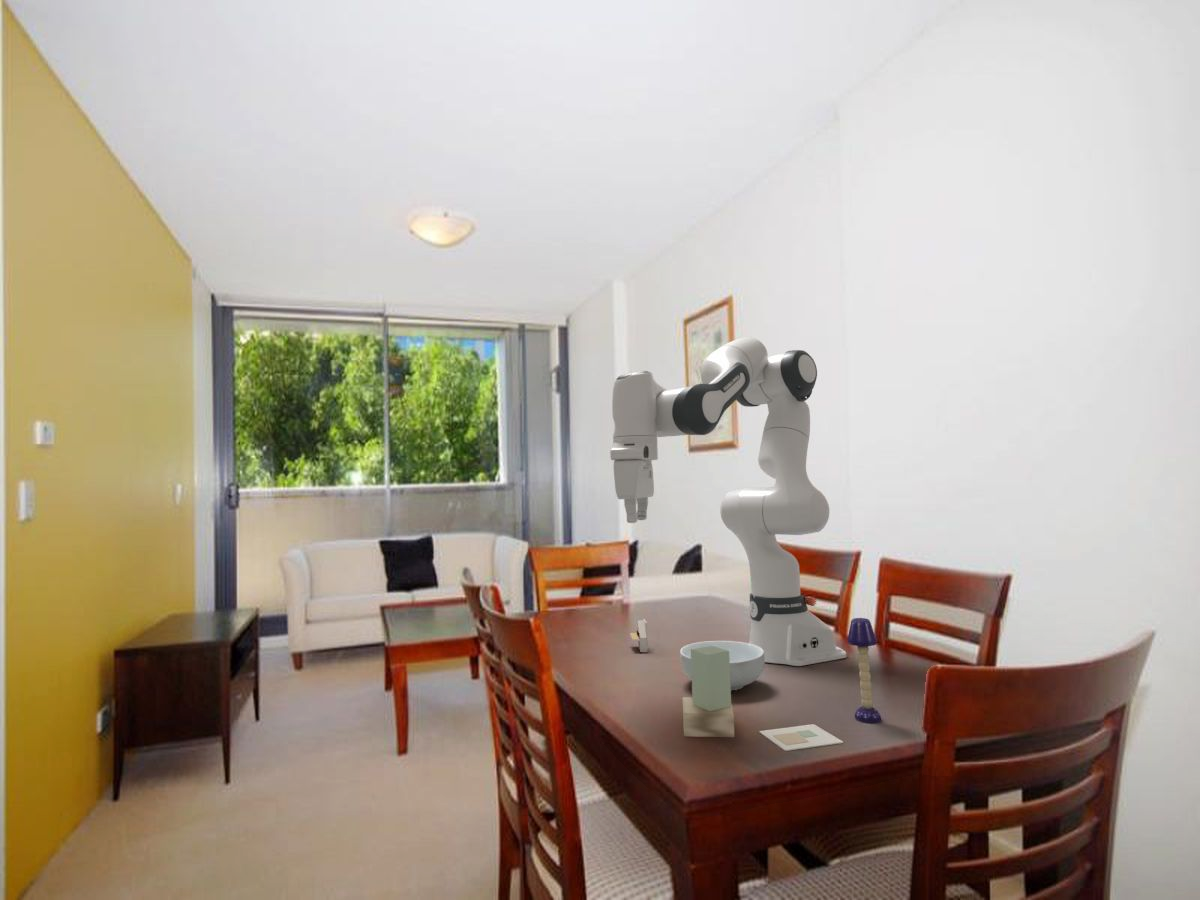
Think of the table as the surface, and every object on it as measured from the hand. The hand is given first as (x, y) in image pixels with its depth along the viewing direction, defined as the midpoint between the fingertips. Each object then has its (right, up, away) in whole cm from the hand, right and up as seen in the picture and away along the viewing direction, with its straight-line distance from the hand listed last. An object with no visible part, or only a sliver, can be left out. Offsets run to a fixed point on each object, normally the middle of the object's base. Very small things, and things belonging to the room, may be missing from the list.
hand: (637, 521), depth 133 cm
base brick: (+10, -32, -22) cm, 40 cm away
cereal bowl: (+17, -33, +1) cm, 37 cm away
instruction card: (+24, -31, -27) cm, 48 cm away
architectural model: (+3, -35, +31) cm, 47 cm away
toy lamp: (+38, -32, -20) cm, 53 cm away
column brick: (+11, -28, -22) cm, 37 cm away
